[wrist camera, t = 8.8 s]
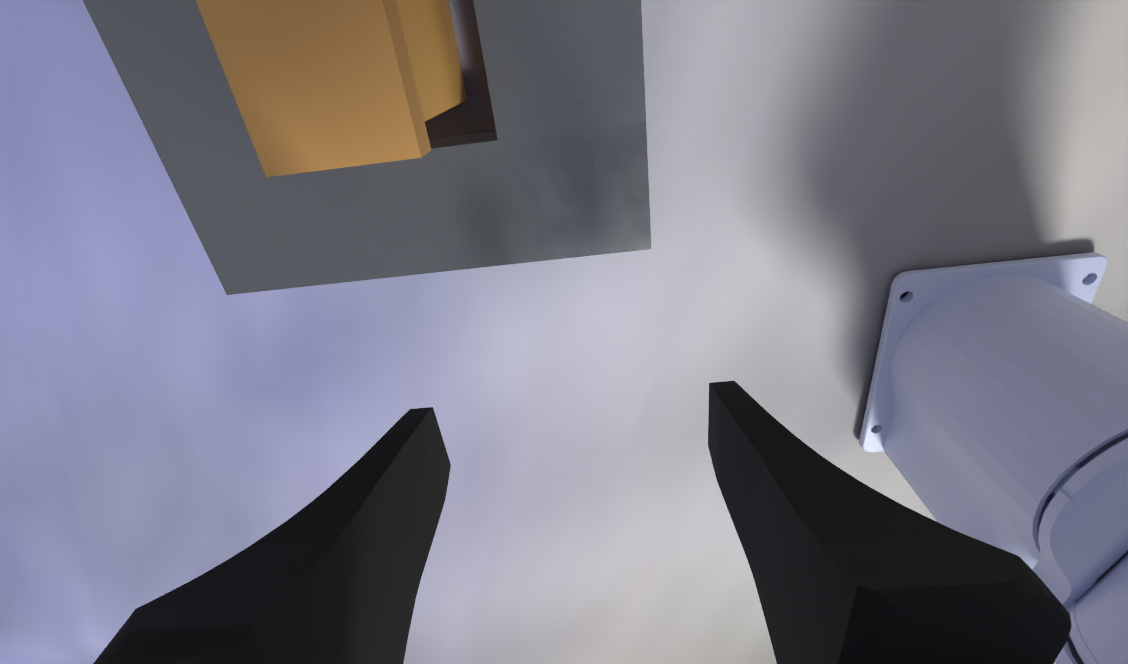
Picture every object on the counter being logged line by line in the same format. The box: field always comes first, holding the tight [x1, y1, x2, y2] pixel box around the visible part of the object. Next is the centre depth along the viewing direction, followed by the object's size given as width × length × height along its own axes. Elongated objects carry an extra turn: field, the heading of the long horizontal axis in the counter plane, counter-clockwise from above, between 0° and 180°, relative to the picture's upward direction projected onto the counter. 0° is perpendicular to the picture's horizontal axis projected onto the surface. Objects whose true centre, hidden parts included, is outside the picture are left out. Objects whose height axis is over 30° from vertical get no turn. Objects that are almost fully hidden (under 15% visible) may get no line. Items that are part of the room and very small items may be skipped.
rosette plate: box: [83, 0, 651, 295], centre depth 16 cm, size 16×16×2 cm
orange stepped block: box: [196, 0, 468, 177], centre depth 14 cm, size 6×4×7 cm, turn 7°
